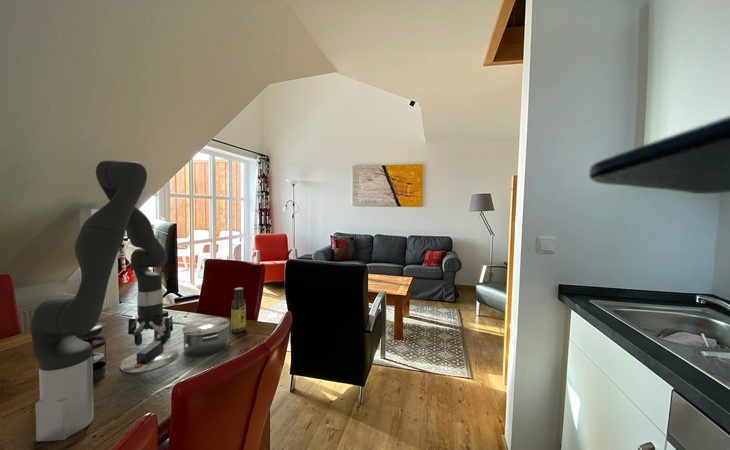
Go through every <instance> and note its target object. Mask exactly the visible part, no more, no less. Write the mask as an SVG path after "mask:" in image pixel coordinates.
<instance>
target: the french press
mask: <svg viewBox="0 0 730 450" xmlns="http://www.w3.org/2000/svg"><path fill="white" fill-rule="evenodd" d="M106 326H107V323H106V322H102V321H101V322H100V321H99V322H97V323H96V325H95V326H94V328H93V329H92V330H91V331H89V332H88V333H86V334H84V335H77V336H76V337H77V338H79V339H81V340H83V341H85V342H88V343H90V344H91V346H92V362H93V383H95V382H98V381H100V380H102V379H103V378H104V377H106V376H107V375H108V373H109V371H108V369H107V368H108V367H107V366H108V365H107V364H108V363H107V337H106V336H102V335H99V334H100V333H101V332H102V331H103V329H104V328H105V327H106ZM94 341H101V342H99V343H96V344H94ZM103 346H104V352H94V350H96V349H98V348H99V349H100V348H101V347H103ZM104 359H105V361H104Z"/></svg>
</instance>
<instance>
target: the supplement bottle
mask: <svg viewBox="0 0 730 450" xmlns="http://www.w3.org/2000/svg"><path fill="white" fill-rule="evenodd" d="M162 315H163V317H169V316H170V315H169V310H163V314H162ZM162 323H163V324H164V325H165V323H164V321H162ZM158 327H160V326H158ZM165 328H166V327H165ZM171 335H172V331H171V332H170V333H169V334H167V339H168V338H170V337H171ZM160 336H161V334H160V333H159V332H157V331H156V330H155V329H154V330H153V338H154V340H155V341H160Z"/></svg>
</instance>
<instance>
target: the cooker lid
mask: <svg viewBox="0 0 730 450" xmlns="http://www.w3.org/2000/svg"><path fill="white" fill-rule="evenodd" d="M178 356H179V350H178V348H175V347H172V346H164V345H161V342H160V340H155V341H153V342H152V343H150V344H149V345H147V346H146V347H144V348H142V350H140V351H139V352H136V353H133V354H131V355H129V356H128V357H126V358H125V359H123V360H122V362H120V370H121V371H122V372H124V373H129V374H136V373H144V372H150V371H153V370H156V369H159V368H161V367H163V366H166V365H168V364H170V363H172V362H173V361H174V360H176V359H177V357H178Z"/></svg>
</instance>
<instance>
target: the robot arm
mask: <svg viewBox="0 0 730 450" xmlns="http://www.w3.org/2000/svg"><path fill="white" fill-rule="evenodd" d="M147 172H148V171H147V169H146V167H145V165H143V164H142V163H141V162H137V161H130V160H114V159H113V160H111V159H108V160H106V159H105V160H102V161H100V162H99V163H98V164H97V166H96V168H95V176H96V180H97V182H98V184H99V187H101V189H102V191H103V192H104V195H105V196H106V197H107V199H108V202H107V203H106V204H105V205H103V206H101V207H100V209H98V210H97V211H95V212H94V213H93V214H92V215H91V216H90V217H88V218H87V219H86V220H85V221H84V222H83V224H82V225H81V228H80V230H79V233H78V235H77V238H76V240H75V241H74V242H75V243H74V246H73V247H74V254H75V257H76V260H77V263H78V265H79V268H80V272H81V280H80V284H79V287H78V290H77V293H76V295H75V296H74V297H70V296H69V297H52V298H49V299H46V300H44V301H42V302H41V303H40V304H38V305H37V307H36V308H35V310H34V311H33V313H32V316H31V320H30V333H31V343H32V351H33V357H34V359H35V360H36V361H37V363H38V372H39V373H38V376H39V379H38V381H39V400H38V401H37V402H36V403H35V405H34V406H35V431H36V432H35V436H36V440H35V441H36V442H53V441H54V442H55V441H56V442H57V441H64V440H66V439H67V438H69V437H70V436H72V435H75V434H76V433H79V432H80V431H82V430H83V429H85V428H87V427H88V426H89V425H90V424H91V423H93V422H92V421H93V420H94V382H93V372H94V371H93V362H92V346H91V344H90V343H88V342H85V341H83V340H81V339H79V338H77V337H76V336H77V335H84V334H86V333H88V332H89V331H91V330H92V329H93V328H94V326H95V325H96V323H97V322H98V321H99V319H100V317H101V313H102V310H103V307H104V302H105V298H106V295H107V289H108V285H109V280H110V276H111V273H112V271H113V267H114V265H115V262H116V258H117V256H118V253H119V252H120V250H121V249H120V248H121V245H122V243H123V240H124V238H125V233H127V236H128V238H129V241H130V242H129V243H130V244H131V246H133V247H135V248H136V249H135V250H133V252H132V253H131V255H130V264H131V267H132V269H133V271H134V275H135V277H136V280H137V296H136V307H137V309H136V310H137V316H135V315H134V316H132V317H129V319H128V324H127V325H128V326H127V334H128V335H133V338H134V340H133V341H134V345H135V346H140V345H141V344H142V343H143V333H142V332H143V331H144V330H146V331H147V330H153V331H154V329H155V330H156V331H157V332H159V333H160V334H161V336H160V340H159V341H160V342H161V345H163V346H164V345H166V343H167V342H168V338H167V334H169V333H170V332H171V333H172V332H173V331H174V324H173V323H174V322H173V316H172V315H169V317H163V315H162V314H163V311H164V295H163V286H162V284H163V282H162V279H163V278H162V274H160V273H158V272H154V271H151V270H150V269H149V268H161V267H163V266H164V265H165V264H166V263H167V261H168V253H167V251H166V249H165V248H164V246H163V245H162V243H160V241H159V239H157V237H156V236H155V233H154V229H153V226H152V224H151V223H152V222H151V221H150V219H149V218H148V217H147V215H146V214H145V213H144V212H143V211H142V210H140V209H139V207H138V206H136V205H137V203H138V201H139V199H140V197H141V195H142V193H143V191H144V189H145V187H146V184H147V179H148V173H147ZM162 321H164V323H165V325H164V324H163V323H162ZM137 323H138V324H139V326H138V327H137ZM158 326H160V327H158ZM165 327H166V328H165Z"/></svg>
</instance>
